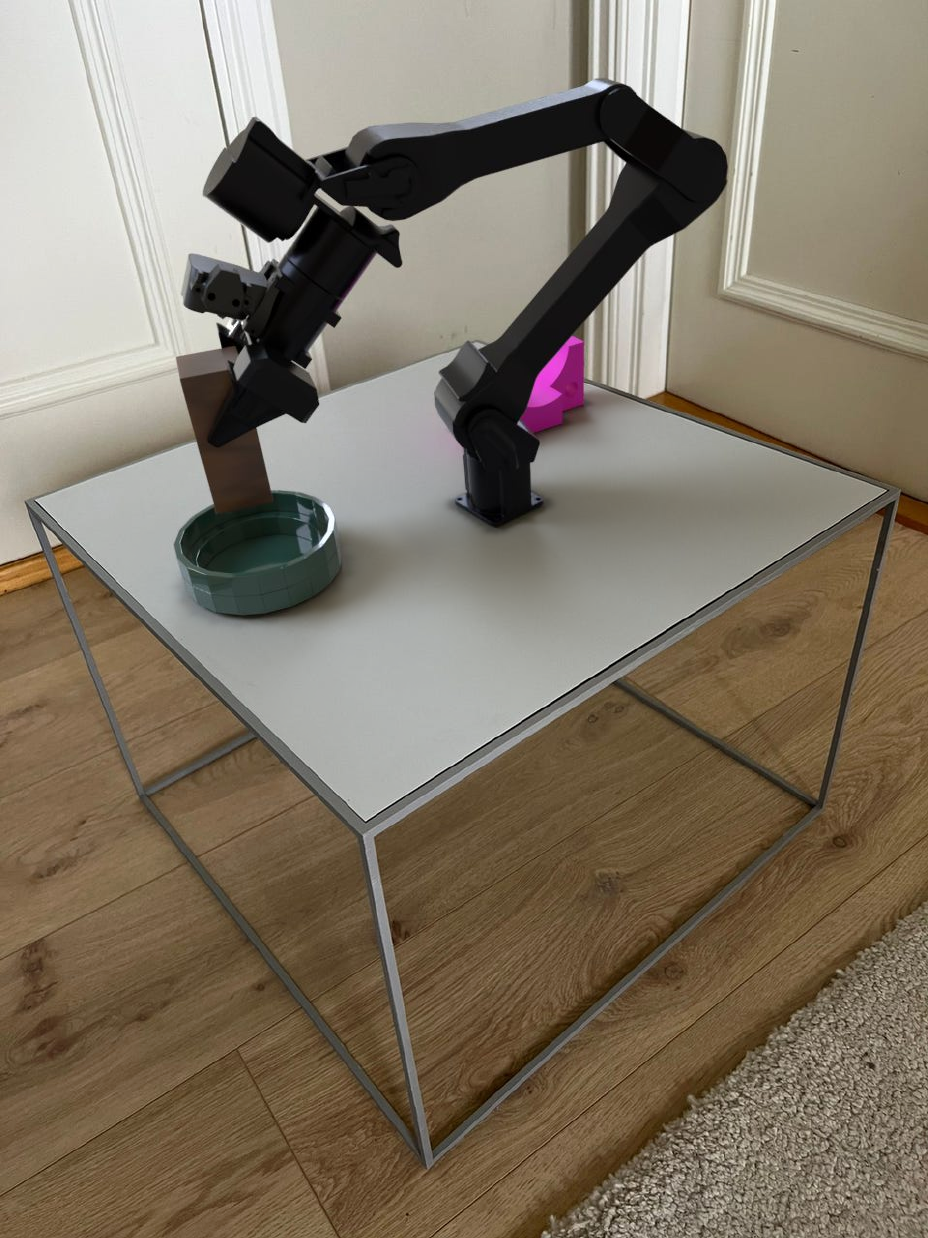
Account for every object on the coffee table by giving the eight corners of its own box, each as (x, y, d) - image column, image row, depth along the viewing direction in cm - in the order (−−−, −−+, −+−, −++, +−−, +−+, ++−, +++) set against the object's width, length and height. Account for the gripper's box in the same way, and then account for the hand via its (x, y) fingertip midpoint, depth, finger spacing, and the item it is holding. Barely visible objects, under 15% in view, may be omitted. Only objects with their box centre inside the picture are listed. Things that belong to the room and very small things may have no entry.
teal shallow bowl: (371, 573, 85) (365, 531, 83) (230, 641, 79) (218, 598, 76) (293, 514, 95) (285, 474, 92) (161, 570, 88) (148, 529, 85)
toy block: (483, 449, 103) (479, 384, 98) (455, 428, 107) (450, 365, 102) (596, 411, 108) (597, 348, 103) (565, 393, 112) (564, 331, 108)
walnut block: (265, 476, 87) (235, 345, 79) (273, 502, 83) (242, 366, 75) (211, 488, 86) (175, 356, 78) (216, 514, 82) (179, 378, 74)
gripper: (214, 186, 78) (118, 340, 83) (241, 246, 64) (122, 428, 68) (324, 267, 84) (228, 406, 89) (370, 338, 70) (254, 499, 75)
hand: (209, 430), depth 80 cm, fingers closed on walnut block, 5 cm apart
